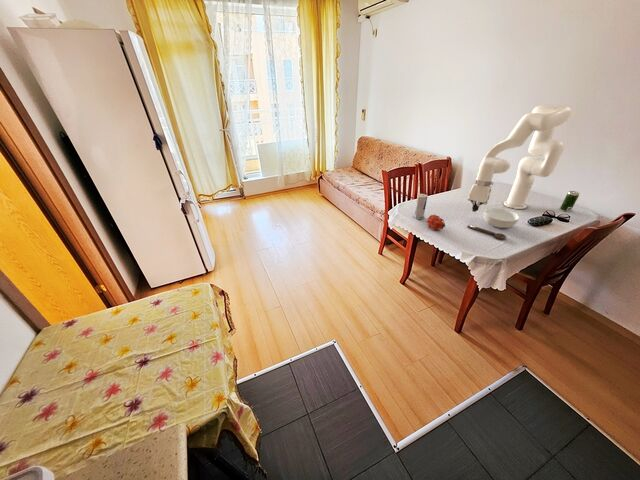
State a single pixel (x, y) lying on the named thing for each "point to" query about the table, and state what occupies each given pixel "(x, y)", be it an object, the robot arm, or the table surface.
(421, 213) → the beverage can
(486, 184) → the robot arm
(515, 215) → the cereal bowl
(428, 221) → the dragon fruit
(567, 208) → the beer can
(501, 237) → the wooden spoon
